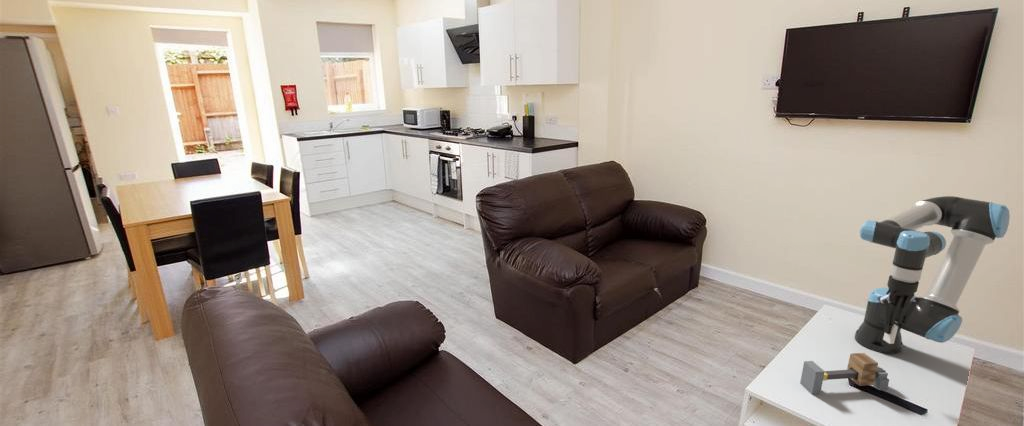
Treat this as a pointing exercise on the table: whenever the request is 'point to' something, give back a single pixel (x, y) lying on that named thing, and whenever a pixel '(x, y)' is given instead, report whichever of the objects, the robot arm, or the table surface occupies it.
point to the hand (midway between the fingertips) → (888, 341)
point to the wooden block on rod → (863, 368)
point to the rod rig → (835, 377)
